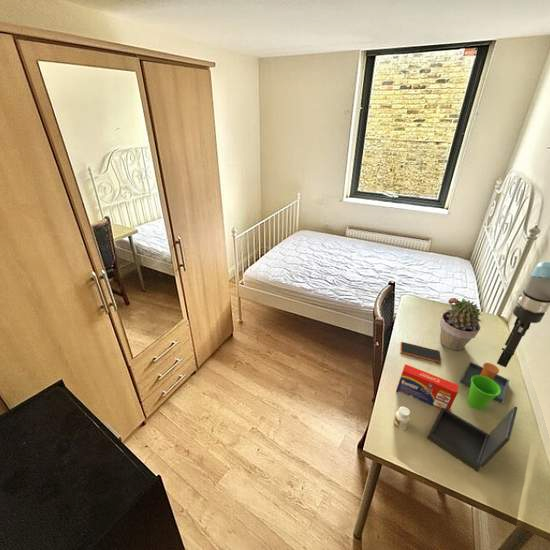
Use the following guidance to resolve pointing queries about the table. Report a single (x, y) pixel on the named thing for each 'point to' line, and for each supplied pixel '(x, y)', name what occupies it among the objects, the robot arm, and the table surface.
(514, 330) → the robot arm
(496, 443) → the lid
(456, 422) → the dark grey box base
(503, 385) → the tray
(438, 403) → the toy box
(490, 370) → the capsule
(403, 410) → the pill bottle
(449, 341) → the potted plant
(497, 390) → the cup
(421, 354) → the smartphone
